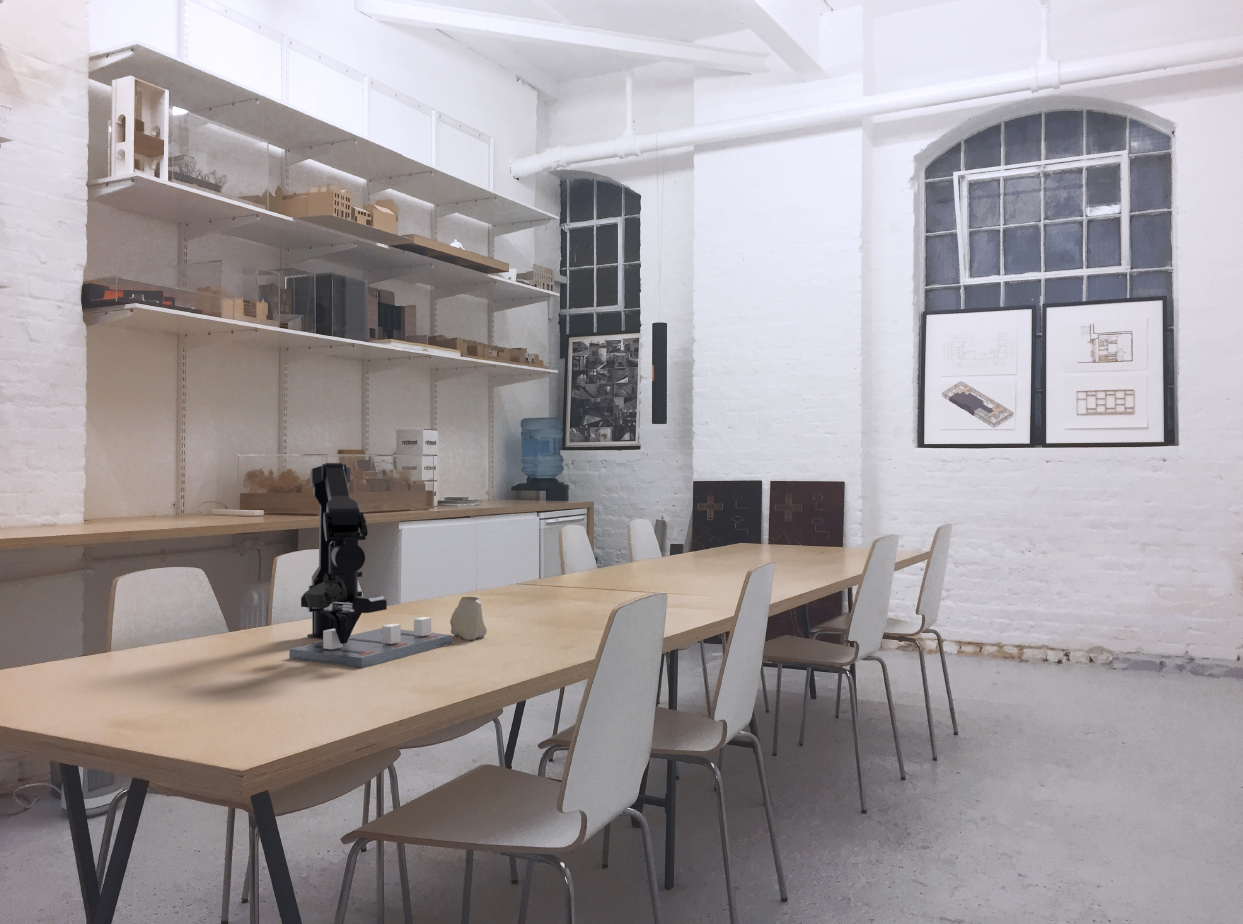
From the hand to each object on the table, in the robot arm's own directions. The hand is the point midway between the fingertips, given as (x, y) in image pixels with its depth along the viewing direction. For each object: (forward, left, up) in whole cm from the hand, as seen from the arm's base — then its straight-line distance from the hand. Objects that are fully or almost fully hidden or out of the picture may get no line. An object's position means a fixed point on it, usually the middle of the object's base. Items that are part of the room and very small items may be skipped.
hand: (343, 643), depth 190 cm
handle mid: (+4, +10, -1) cm, 11 cm away
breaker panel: (-1, +10, -3) cm, 11 cm away
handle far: (+4, +20, -1) cm, 20 cm away
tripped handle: (-3, 0, -1) cm, 3 cm away
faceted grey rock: (+7, +32, -4) cm, 33 cm away
